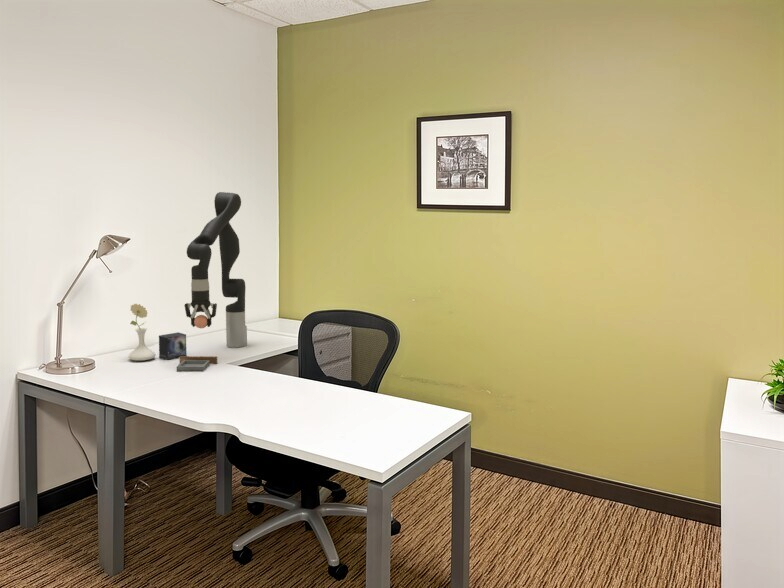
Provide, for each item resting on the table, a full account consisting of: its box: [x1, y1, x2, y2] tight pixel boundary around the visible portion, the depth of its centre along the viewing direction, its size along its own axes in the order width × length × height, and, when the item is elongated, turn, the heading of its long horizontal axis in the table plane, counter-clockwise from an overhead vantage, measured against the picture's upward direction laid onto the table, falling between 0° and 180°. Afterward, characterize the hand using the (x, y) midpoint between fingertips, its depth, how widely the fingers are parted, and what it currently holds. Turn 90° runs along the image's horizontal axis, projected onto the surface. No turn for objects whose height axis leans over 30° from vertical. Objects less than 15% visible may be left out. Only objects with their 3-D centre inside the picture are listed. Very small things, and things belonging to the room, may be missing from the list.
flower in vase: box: [128, 303, 157, 362], centre depth 284 cm, size 13×11×25 cm
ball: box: [194, 314, 208, 329], centre depth 284 cm, size 6×6×6 cm
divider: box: [179, 355, 218, 365], centre depth 279 cm, size 1×16×3 cm, turn 92°
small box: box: [158, 331, 187, 361], centre depth 290 cm, size 11×6×10 cm, turn 143°
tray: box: [175, 360, 211, 372], centre depth 271 cm, size 11×11×2 cm
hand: (201, 326), depth 284 cm, fingers closed on ball, 6 cm apart
